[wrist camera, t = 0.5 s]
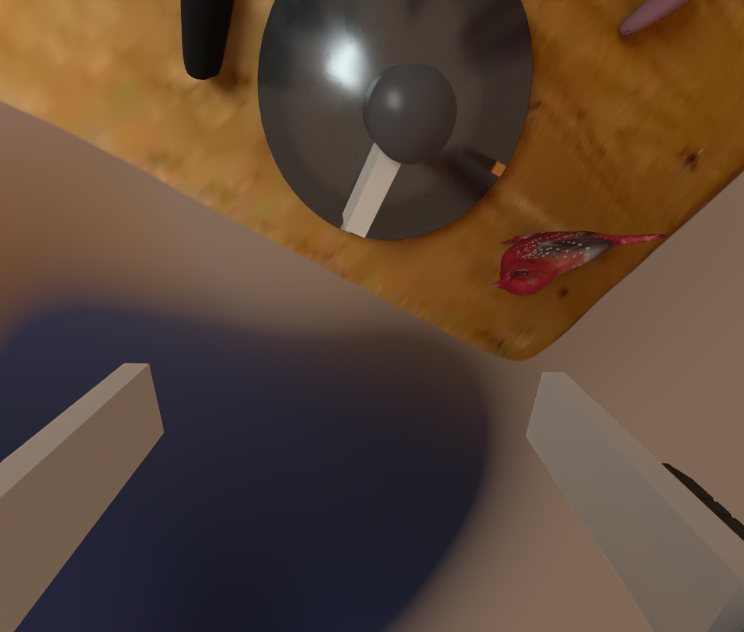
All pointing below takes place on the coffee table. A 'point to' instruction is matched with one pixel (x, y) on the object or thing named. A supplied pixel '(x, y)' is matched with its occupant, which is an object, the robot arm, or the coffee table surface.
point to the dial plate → (354, 76)
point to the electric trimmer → (204, 35)
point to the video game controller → (648, 14)
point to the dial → (399, 133)
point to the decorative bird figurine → (554, 256)
